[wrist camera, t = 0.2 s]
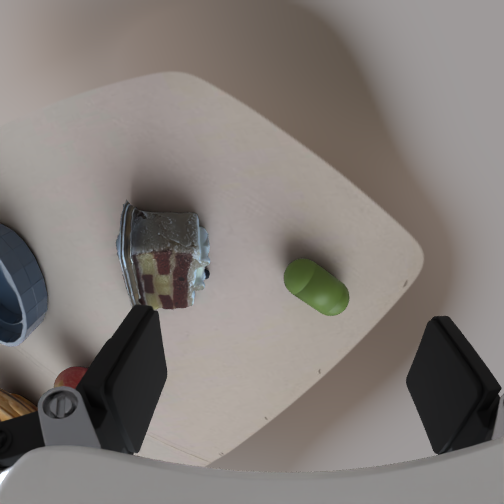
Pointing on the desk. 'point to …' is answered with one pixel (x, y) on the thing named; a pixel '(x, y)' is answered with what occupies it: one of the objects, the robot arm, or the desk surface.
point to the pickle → (316, 287)
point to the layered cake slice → (162, 257)
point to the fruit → (70, 377)
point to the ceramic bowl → (14, 405)
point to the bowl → (19, 290)
